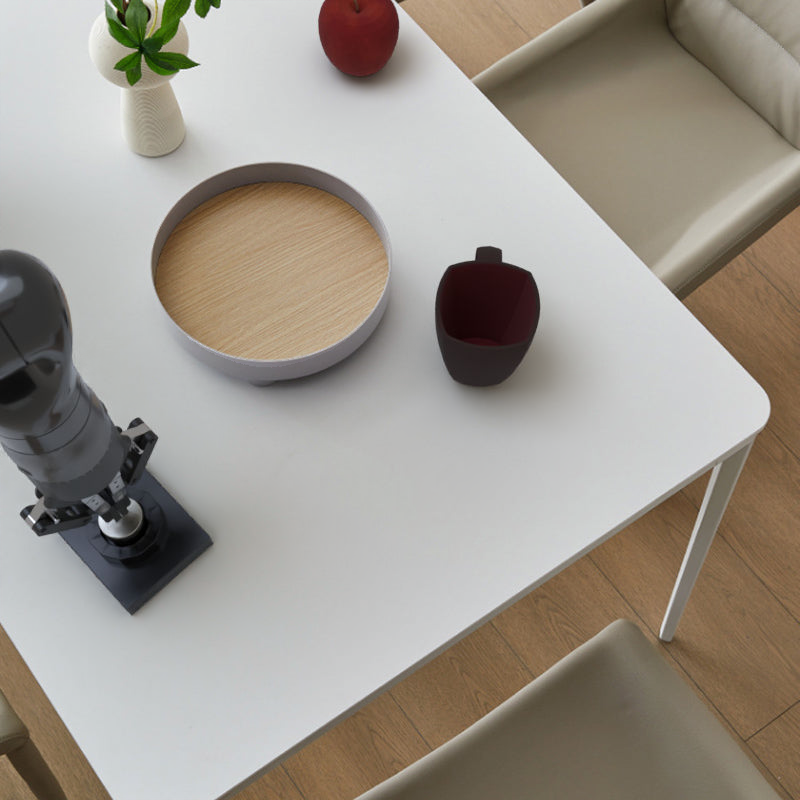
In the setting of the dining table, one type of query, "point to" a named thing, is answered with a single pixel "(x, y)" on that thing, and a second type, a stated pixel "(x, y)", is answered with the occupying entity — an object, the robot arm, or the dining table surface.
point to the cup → (485, 318)
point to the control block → (142, 546)
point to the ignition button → (125, 525)
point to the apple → (358, 34)
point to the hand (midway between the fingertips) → (116, 510)
